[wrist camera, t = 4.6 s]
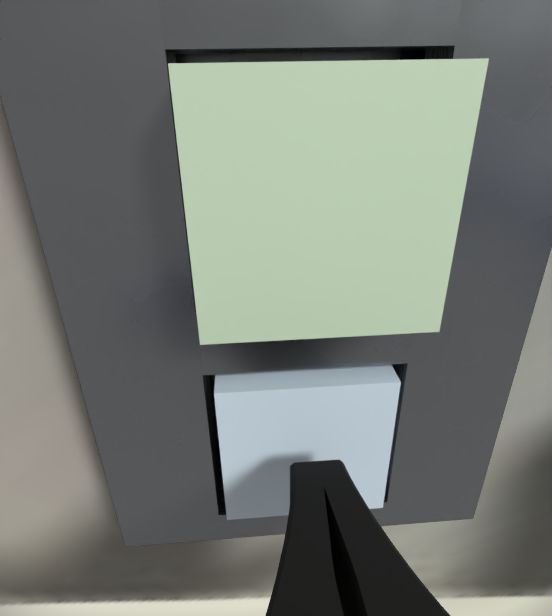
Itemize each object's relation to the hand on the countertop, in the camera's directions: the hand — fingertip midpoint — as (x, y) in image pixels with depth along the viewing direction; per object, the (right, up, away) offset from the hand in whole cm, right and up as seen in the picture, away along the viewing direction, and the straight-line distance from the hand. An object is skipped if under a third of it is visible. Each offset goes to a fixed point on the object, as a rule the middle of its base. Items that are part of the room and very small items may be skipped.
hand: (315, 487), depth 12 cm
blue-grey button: (0, +2, +4) cm, 4 cm away
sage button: (0, +8, -1) cm, 8 cm away
